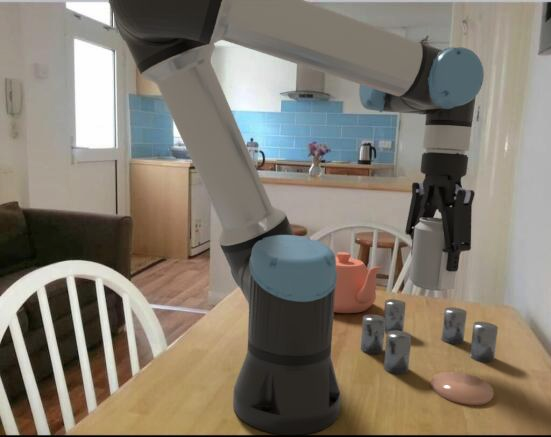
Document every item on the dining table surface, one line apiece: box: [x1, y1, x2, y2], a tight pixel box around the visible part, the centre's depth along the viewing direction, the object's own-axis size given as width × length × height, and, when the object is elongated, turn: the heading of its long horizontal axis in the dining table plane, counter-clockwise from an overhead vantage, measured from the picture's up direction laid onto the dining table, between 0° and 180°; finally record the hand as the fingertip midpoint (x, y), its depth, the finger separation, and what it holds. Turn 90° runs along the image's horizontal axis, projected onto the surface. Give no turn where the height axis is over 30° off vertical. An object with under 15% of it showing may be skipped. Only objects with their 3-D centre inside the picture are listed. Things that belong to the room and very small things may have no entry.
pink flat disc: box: [430, 371, 494, 406], centre depth 78 cm, size 9×9×1 cm
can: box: [408, 217, 454, 292], centre depth 88 cm, size 8×8×12 cm
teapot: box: [334, 251, 383, 314], centre depth 114 cm, size 22×16×12 cm
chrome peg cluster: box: [360, 298, 499, 375], centre depth 93 cm, size 22×19×6 cm
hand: (430, 281), depth 89 cm, fingers closed on can, 7 cm apart
